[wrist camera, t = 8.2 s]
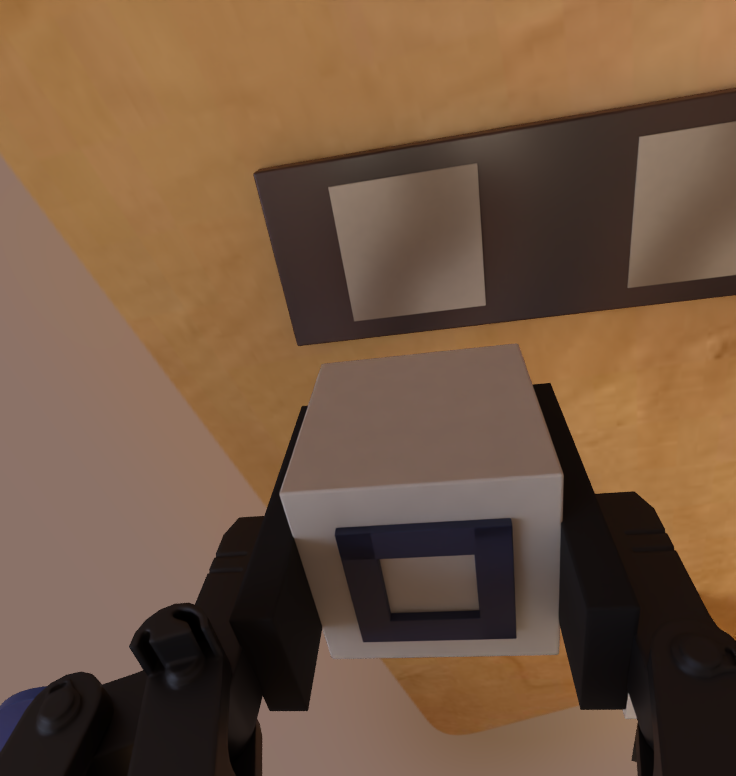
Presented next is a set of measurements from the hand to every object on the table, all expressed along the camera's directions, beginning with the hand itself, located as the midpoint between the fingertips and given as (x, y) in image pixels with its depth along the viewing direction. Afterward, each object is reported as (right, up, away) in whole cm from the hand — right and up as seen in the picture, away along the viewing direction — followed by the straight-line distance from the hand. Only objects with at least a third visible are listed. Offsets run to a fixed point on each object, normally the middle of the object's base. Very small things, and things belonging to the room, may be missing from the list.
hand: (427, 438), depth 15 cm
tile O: (0, 0, 0) cm, 0 cm away
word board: (+6, +8, +9) cm, 14 cm away
